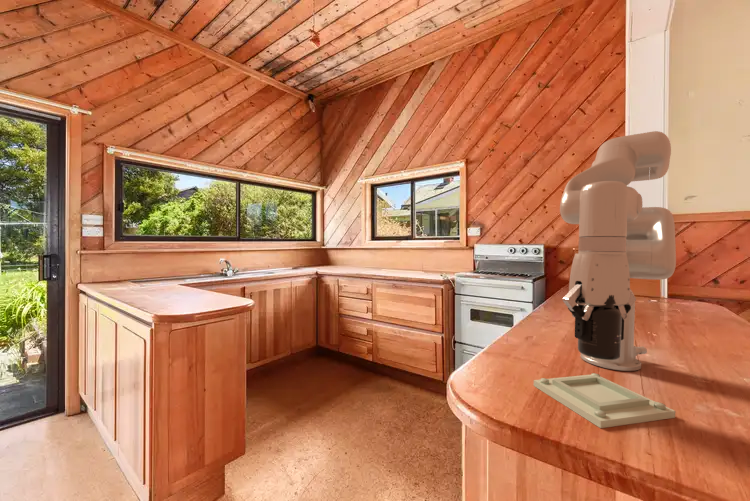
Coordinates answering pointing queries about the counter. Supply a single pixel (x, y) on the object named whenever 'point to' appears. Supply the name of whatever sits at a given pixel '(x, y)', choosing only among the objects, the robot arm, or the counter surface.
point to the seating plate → (603, 400)
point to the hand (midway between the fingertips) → (598, 338)
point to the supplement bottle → (604, 332)
